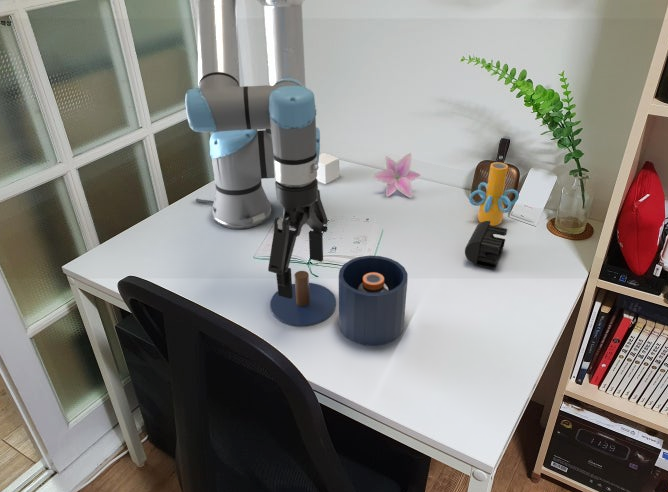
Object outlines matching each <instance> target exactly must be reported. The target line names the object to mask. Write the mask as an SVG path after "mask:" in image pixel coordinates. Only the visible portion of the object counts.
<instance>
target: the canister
mask: <svg viewBox="0 0 668 492" xmlns="http://www.w3.org/2000/svg"><path fill="white" fill-rule="evenodd" d="M372 272H374V273H379V274H381V275H382V276H383V277H384V284H385V285H386V286H387V287H388V290H389V291H387V292H382V293H366V292H362V291H358V290H357V289H358V287H359V285H360V284H361V283H362V282H363V276H364V275H366V274H367V273H372ZM408 280H409V279H408V271H407V270H406V268H405V267H404V266H403V264H401V263H400V262H398V261H396V260H395V259H392V258H389V257H386V256H381V255H362V256H358V257H354V258H352V259H350V260H348V261H346V262H345V263H343V265H342V266H341V267H340V269H339V271H338V326H339V330H340V332H341V333H342V334H343V335H344V337H345V338H346V339H348V340H350V341H351V342H353V343H355V344H358V345H362V346H368V347H369V346H370V347H378V346H384V345H387V344H390V343H392V342H394V341H395V340H397V339H398V338H399V337H400V336H401V335H402V333H403V331H404V326H405V314H406V303H407V290H408Z"/></svg>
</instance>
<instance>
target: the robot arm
mask: <svg viewBox="0 0 668 492" xmlns="http://www.w3.org/2000/svg"><path fill="white" fill-rule="evenodd" d="M257 2H258V3H259V4H260V5H261V6H262V18H263V19H262V20H263V31H264V44H265V57H266V70H267V71H266V72H267V85H265V84H263V85H249V86H248V85H246V86H245V85H243V86H241V81H240V79H241V78H240V60H239V59H240V58H239V57H240V56H239V40H238V39H239V36H238V15H237V14H238V13H237V0H196V11H197V12H196V17H197V19H196V22H197V85H198V87H195V88H192V89H190V88H189V89H188V90H187V91H186V93H185V96H184V97H185V98H184V99H185V102H184V103H185V111H186V118H187V119H186V120H187V122H188V126H189V128H190V129H191V130H192V131H193V132H196V133H212V134H211V136H210V138H209V157H210V158H211V164H212V170H213V171H212V172H213V178H214V185H215V195H214V199H213V200H209V199H200V198H196V199H195V202H197V203H201V204H211V205H212V208H211V209H212V211H211V213H212V219H213V221H214V222H215V223H216V224H217V225H218V226H220V227H223V228H226V229H234V230H243V229H249V228H254V227H257V226H260V225H262V224H264V223H265V222H267V221H268V220H269V219H270V217H271V216H272V205H271V202H270V201H269V199H268V196H267V194H266V191H265V190H264V187H263V184H262V179H274V180H275V183H274V185H275V197H276V200H277V202H278V203H279V204H280V205H281V206H282V207H283V211H282V213H283V214H282V217H277V216H276V217H275V218H274V219H273V234H272V235H273V236H272V240H271V241H272V242H271V248H270V255H269V260H268V261H269V262H268V267H267V271H268V272H270V273H273V274H276V275H275V276H276V284H277V291H278V296H282V297H286V298H289V299H291V298H292V297H293V292H292V284H293V281H292V279H293V277H292V268H290V263H291V259H292V256H293V252H294V249H295V245H296V242H297V237H300V235H301V233H302V228H303V226H304V225H307V226H308V227H309V229H310V230H308V246H309V247H308V248H309V260H313V261H317V262H320V263H322V262H323V261H324V242H323V241H324V240H323V239H324V238H323V233H327V232H328V226H326V225H328V221H329V220H328V217H327V214H326V211H325V208H324V205H323V202H322V199H321V191H320V189H319V182H318V181H317V179H316V177H317V170H318V168H319V166H318V161H319V155H320V152H321V151H320V150H321V143H320V142H321V132H320V128H319V127H317V121H316V120H317V119H316V117H317V109H316V107H317V106H316V99H315V94H314V92H313V91H312V90H311V89H310V88H307V87H306V67H305V65H306V64H305V46H304V45H305V43H304V22H303V21H304V20H303V3H304V2H305V0H257Z"/></svg>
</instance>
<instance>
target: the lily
mask: <svg viewBox="0 0 668 492" xmlns="http://www.w3.org/2000/svg"><path fill="white" fill-rule="evenodd" d="M412 157H413V156H412V153H411V152H409V153H406V154H405V155H404V156H402V157H401V158H400V159H399V160H398V161H397V162H396V161H395V160H394V159H392V158H391V157H389V156H388V155H387V156H385V158H384V159H385V166H386V168H385V169H382V170H380V171H378V172H376V173H374V174H373V175H372V178H373V180H376V181H378V182H381V183H383V184H386V189H385V195H386V197H389V196H391V195H392V194H395V192H396V191H397V190H398V191H399V192H400V193H402V194H403V195H404V196H406V197H407V198H410V199H412V198H413V187H412V183H411V182H413V181H416V180H417V179H419V178H421V177H422V175H421V174H420V173H418V172H416V171H414V170H412V169H411V167H412Z"/></svg>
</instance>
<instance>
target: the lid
mask: <svg viewBox="0 0 668 492" xmlns="http://www.w3.org/2000/svg"><path fill="white" fill-rule="evenodd" d="M292 292H293V297H292V298H291V299H289V298H286V297H282V296H278V290H277V291H276V292H275V293H274V294H273V295H272V297H271V299H270V302H269V308H270V312H271V313H272V316H273V317H274V318H275V319H276V320H278V321H280V322H282V323H283V324H286V325H289V326H293V327H294V326H295V327H308V326H313V325H314V326H315V325H317V324H320V323H322V322H324V321H326V320H328V319H329V318H330V317H331V316H332V315H333V314H334V312H335V310H336V308H337V299H336V296H335V294H334V293H333V292H332V291H331V290H330V289H329V288H327V287H325V286H323V285H321V284H318V283H313V282H310V275H309V272H308V271H306V270H298V271H296V272H295V273H294V283H292Z"/></svg>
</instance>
